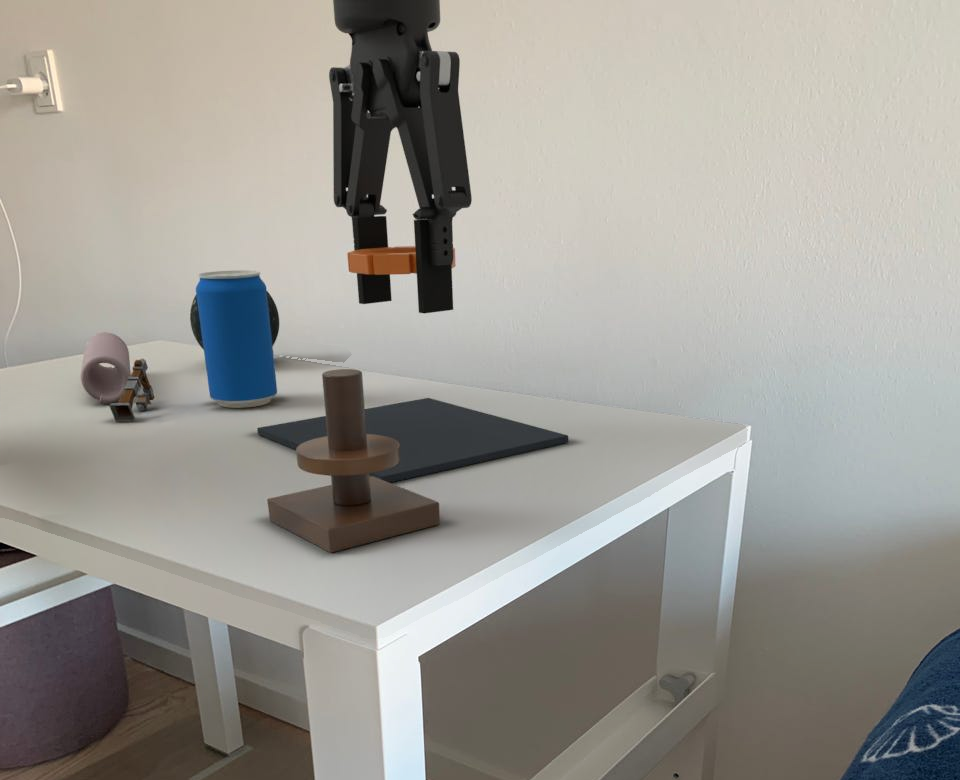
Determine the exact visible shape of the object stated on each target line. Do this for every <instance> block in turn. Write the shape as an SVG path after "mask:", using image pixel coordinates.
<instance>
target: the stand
mask: <svg viewBox="0 0 960 780" xmlns="http://www.w3.org/2000/svg"><path fill="white" fill-rule="evenodd" d="M321 376H322V377H321V378H322V389H323V402H324V411H325V416H326V425H327V436H326V437H320V438H316V439H312V440H309V441H306V442H304V443H302V444H300V445H299V446H298V447H297V449H295V454H296V464H297V467H298V468H299V469H300V470H301V471H303V472H306V473H309V474H313V475H318V476H319V475H320V476H330V481H331V484H328V485H324V486H320V487H315V488H311V489H306V490H301V491H298V492H293V493H288V494H283V495H279V496H274V497H269V498H267V509H268V517H269V521H270V522H271V523H273V524H276V525H277V526H279V527H281V528H283V529H285V530H287V531H289V532H290V533H293V534H295V535H297V536H298V537H300V538H301V539H304V540H306V541H308V542H309V543H311V544H314V545H315V546H318V547H319V548H321V549H323V550H325V551H327V552H328V553H330V554H331V553H335V552H339V551H343V550H347V549H351V548H354V547H358V546H361V545H362V546H363V545H366V544H370V543H373V542H377V541H382V540H385V539H388V538H392V537H397V536H400V535H404V534H408V533H412V532H415V531H419V530H423V529H428V528H431V527H435V526H439V525H440V524H441V519H440V515H441V514H440V502H439V501H436V500H434V499H431V498H429V497H426V496H424V495H421V494H419V493H416V492H414V491H411V490H408V489H406V488H403V487H401V486H399V485H396V484H393V483H392V482H391V483H389V482H386V481H384V480H381V479H378V478H376V477H373V476H369V473H374V472H379V471H383V470H386V469H389V468H391V467H393V466H395V465H396V464H398V463H399V461H400V447H399V443H398V441H396V440H395V439H392V438H389V437H386V436H381V435H372V434H366V420H365V409H366V407H365V393H364V380H363V372H362V371H361V370H359V369H353V368H340V369H339V368H338V369H331V370H326V371H324V372H322V374H321Z"/></svg>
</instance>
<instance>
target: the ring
mask: <svg viewBox="0 0 960 780" xmlns="http://www.w3.org/2000/svg"><path fill="white" fill-rule="evenodd" d="M346 256H347V267H348V272H349V273H352V274H357V273H360V274H375V275H389V274H390V275H411V274H416V275H417V270H416V251H415V245H409V246H407V245H405V246H402V245H401V246H388V247H382V248H370V249H360V250H354V249H353V250H351V251H349V252H347V253H346ZM456 265H457V264H456V248H455V247H453V263H452V269H454V268H455V267H456Z"/></svg>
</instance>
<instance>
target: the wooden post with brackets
mask: <svg viewBox="0 0 960 780" xmlns="http://www.w3.org/2000/svg"><path fill="white" fill-rule="evenodd" d="M148 369H149V367H148V364H147V361H146V359H145V358H139V359H135V360H134V362H133V367H132V368H131V370H132V373H131V377H128V381H127V384H126V386H125V388H124V390H125V392H124V394H123V396H122V397H121V399H120V400H119V401H118V402H116V403H111V404H108V405H109V408H110V411H111V414H112V416H113V418H114V421H115V422H135V419H136V417H135V413H134V412H133V405H134V403H135V407H136V408H137V410H138V411H139V412H142V411H148V407H149V405H151V404H152V403H151V401H154V400H155V398H156V397H155V393H154V388H153V386H152V384H150V381H149V378H148V375H147V370H148ZM141 388H142V392H143V393H141V394H139V391H140V390H141ZM135 398H137V400H136V401H135V402H134V400H135Z"/></svg>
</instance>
